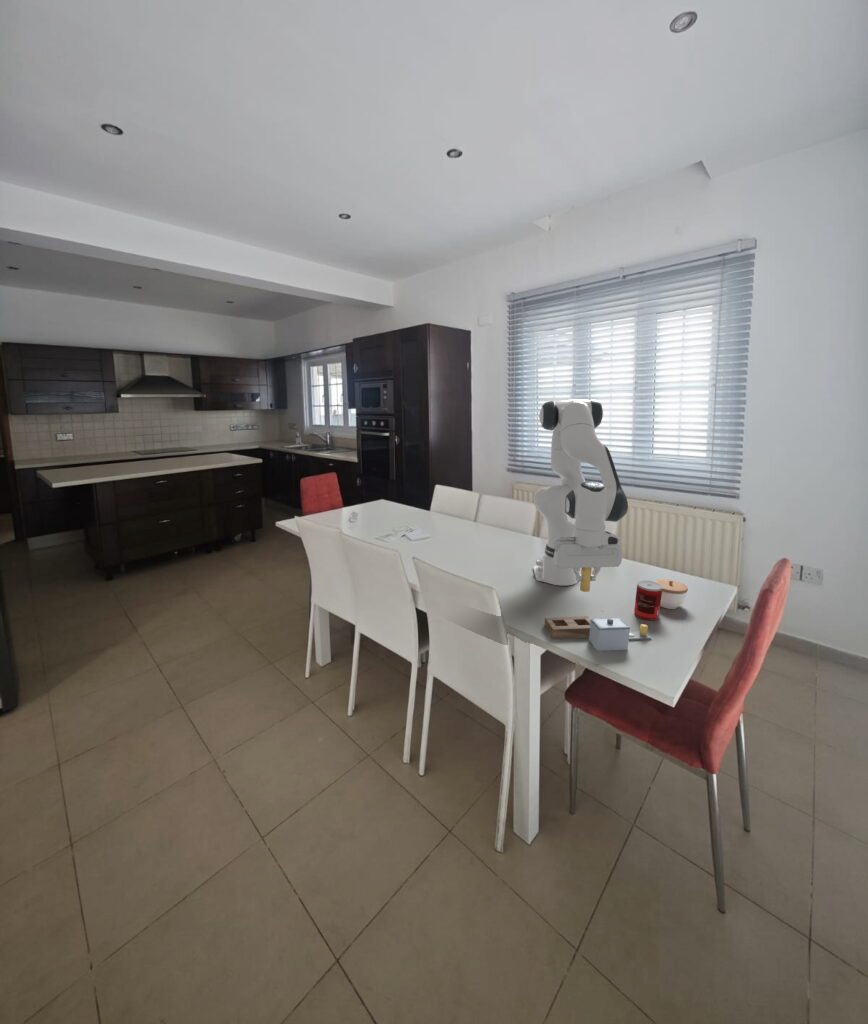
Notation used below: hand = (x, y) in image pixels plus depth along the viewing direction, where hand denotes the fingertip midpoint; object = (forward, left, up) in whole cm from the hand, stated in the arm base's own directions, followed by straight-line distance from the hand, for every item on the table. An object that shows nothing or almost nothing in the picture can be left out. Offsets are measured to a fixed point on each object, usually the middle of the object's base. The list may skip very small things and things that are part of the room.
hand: (585, 580), depth 139 cm
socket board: (0, -4, -17) cm, 17 cm away
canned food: (-9, +26, -17) cm, 33 cm away
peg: (0, 0, -3) cm, 3 cm away
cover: (+9, +4, -17) cm, 20 cm away
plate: (+5, +15, -17) cm, 24 cm away
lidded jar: (-16, +38, -17) cm, 45 cm away
